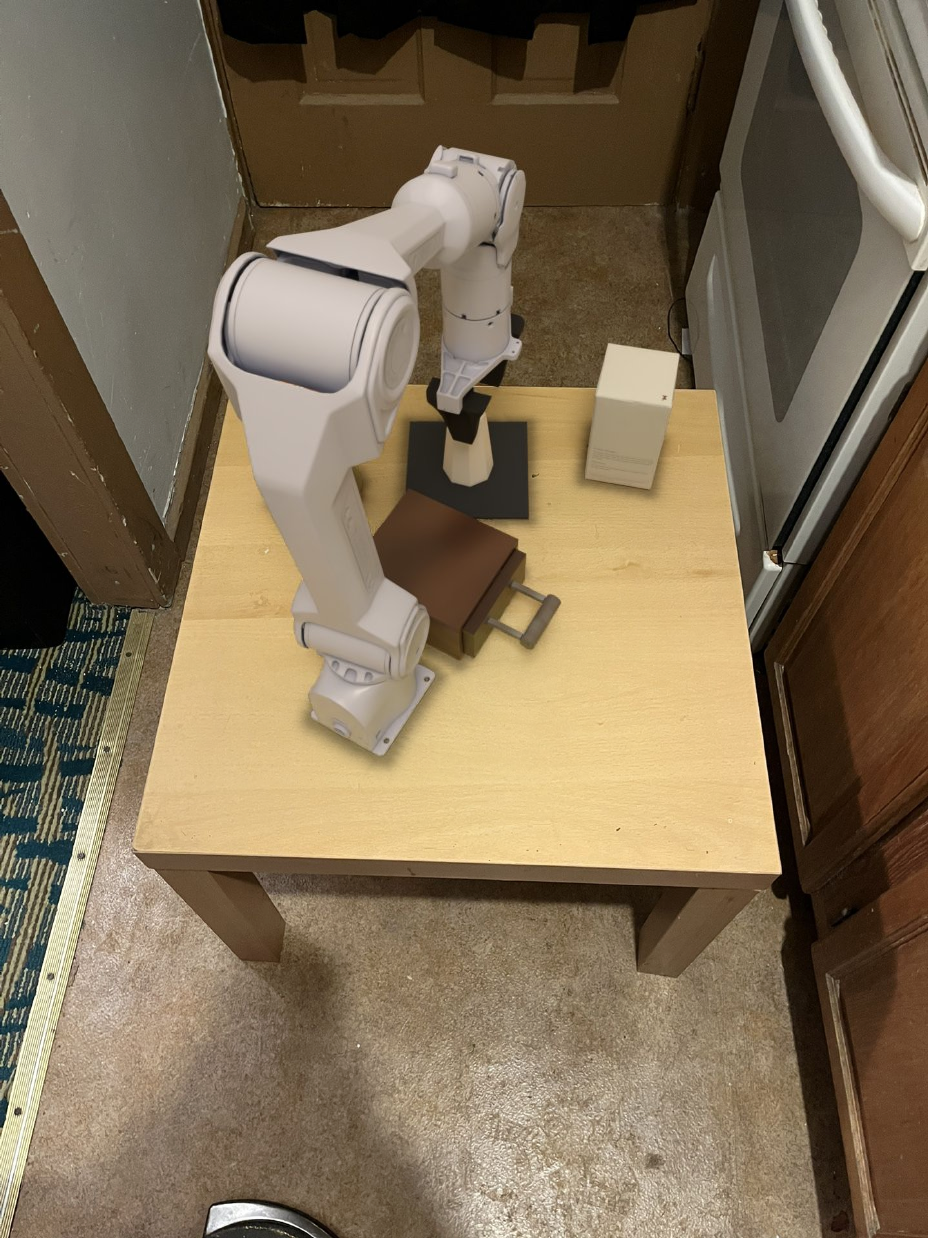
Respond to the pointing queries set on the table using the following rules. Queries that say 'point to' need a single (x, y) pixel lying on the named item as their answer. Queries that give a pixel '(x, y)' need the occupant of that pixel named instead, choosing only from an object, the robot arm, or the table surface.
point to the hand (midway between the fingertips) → (477, 410)
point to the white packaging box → (630, 415)
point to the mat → (485, 499)
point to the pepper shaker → (469, 457)
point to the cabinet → (441, 562)
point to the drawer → (497, 602)
